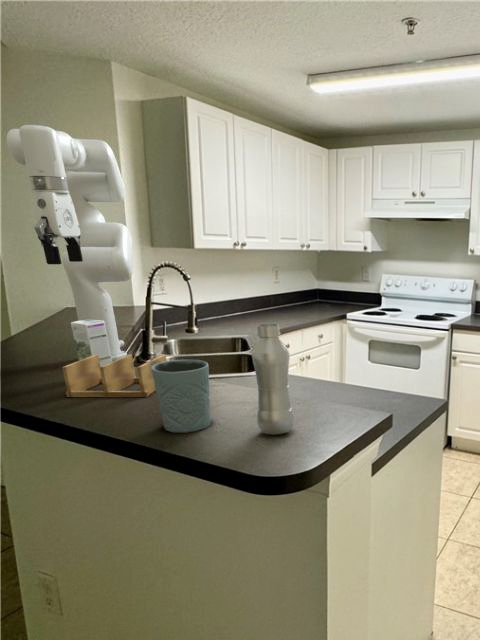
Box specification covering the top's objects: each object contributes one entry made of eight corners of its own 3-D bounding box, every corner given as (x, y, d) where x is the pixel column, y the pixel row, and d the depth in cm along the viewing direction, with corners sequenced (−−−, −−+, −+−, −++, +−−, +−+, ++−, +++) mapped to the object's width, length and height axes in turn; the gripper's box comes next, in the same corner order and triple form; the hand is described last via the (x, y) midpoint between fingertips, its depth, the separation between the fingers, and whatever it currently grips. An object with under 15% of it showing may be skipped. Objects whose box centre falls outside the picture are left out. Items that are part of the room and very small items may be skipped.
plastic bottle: (261, 427, 105) (251, 322, 98) (296, 426, 105) (289, 322, 98) (255, 439, 99) (244, 328, 92) (293, 438, 99) (285, 327, 92)
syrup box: (116, 375, 144) (105, 319, 139) (96, 380, 139) (84, 323, 134) (101, 373, 146) (90, 318, 141) (81, 378, 141) (69, 321, 136)
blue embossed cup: (185, 415, 112) (177, 357, 108) (226, 420, 109) (219, 361, 105) (148, 430, 103) (138, 368, 99) (192, 437, 100) (183, 373, 96)
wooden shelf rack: (98, 381, 138) (93, 354, 135) (171, 381, 138) (167, 354, 135) (66, 397, 125) (60, 367, 122) (147, 397, 125) (142, 367, 122)
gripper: (44, 184, 120) (61, 265, 126) (84, 188, 136) (98, 260, 142) (9, 183, 119) (28, 265, 126) (54, 188, 135) (69, 260, 142)
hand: (65, 262), depth 134 cm, fingers open, 9 cm apart
